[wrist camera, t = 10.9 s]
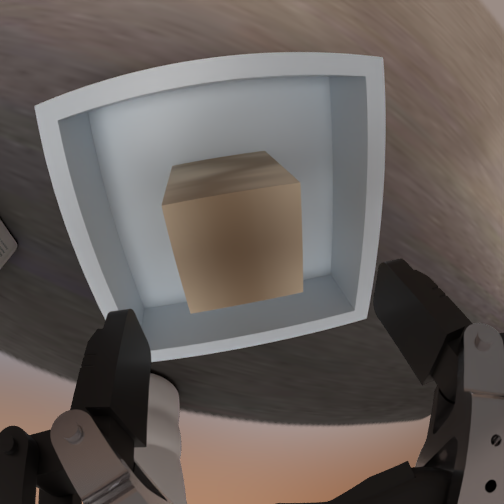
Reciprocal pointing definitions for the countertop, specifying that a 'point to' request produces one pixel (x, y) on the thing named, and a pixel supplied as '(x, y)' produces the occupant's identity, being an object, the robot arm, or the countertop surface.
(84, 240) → the gray bin
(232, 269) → the maple block
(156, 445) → the water bottle
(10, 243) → the container
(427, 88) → the countertop surface
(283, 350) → the countertop surface
